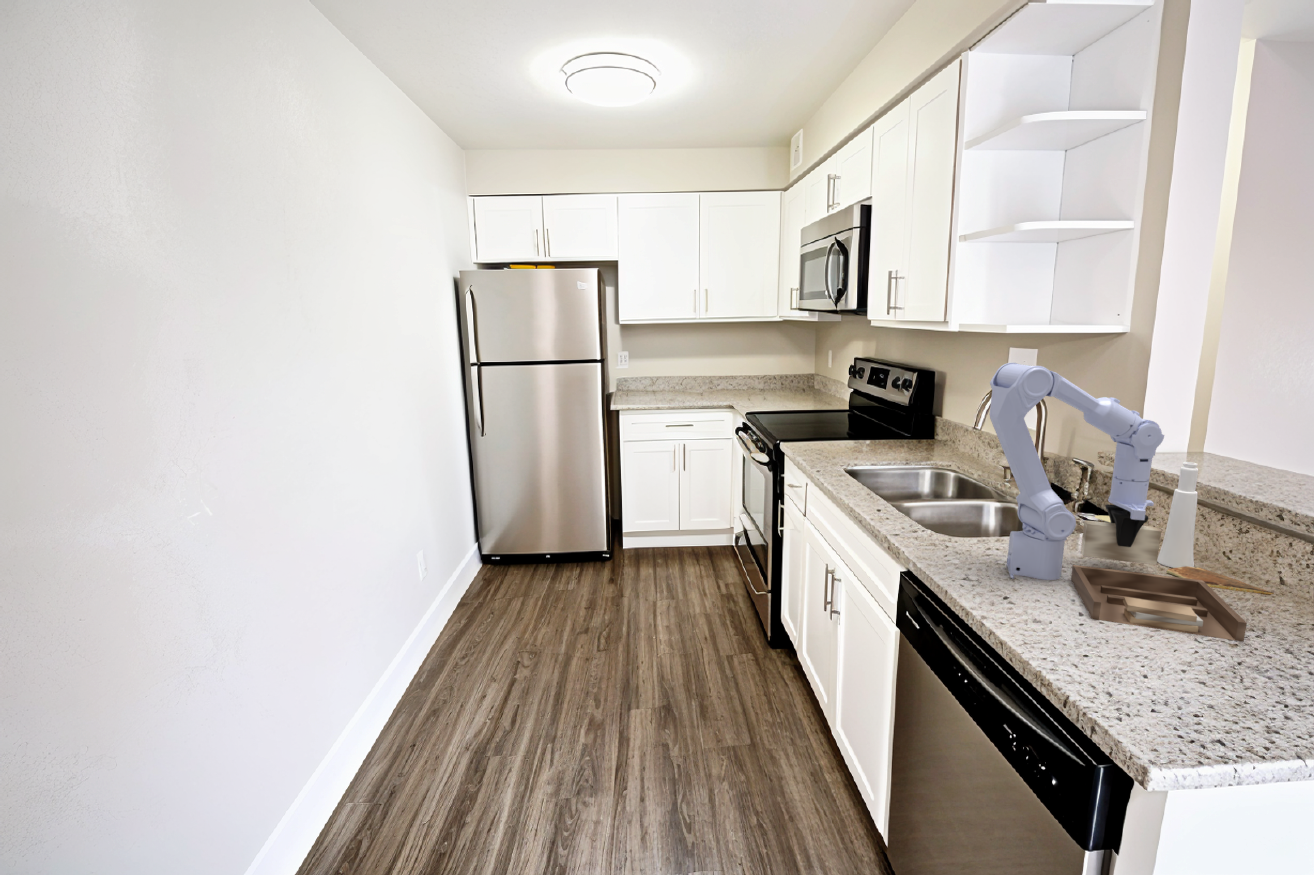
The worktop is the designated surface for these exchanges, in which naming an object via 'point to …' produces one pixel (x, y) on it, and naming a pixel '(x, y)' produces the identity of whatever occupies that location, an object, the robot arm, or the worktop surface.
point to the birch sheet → (1104, 546)
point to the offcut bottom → (1160, 623)
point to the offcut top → (1160, 609)
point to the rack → (1155, 599)
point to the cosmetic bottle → (1181, 521)
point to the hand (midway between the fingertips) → (1122, 543)
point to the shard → (1215, 579)
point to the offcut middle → (1166, 619)
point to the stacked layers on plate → (1103, 519)
